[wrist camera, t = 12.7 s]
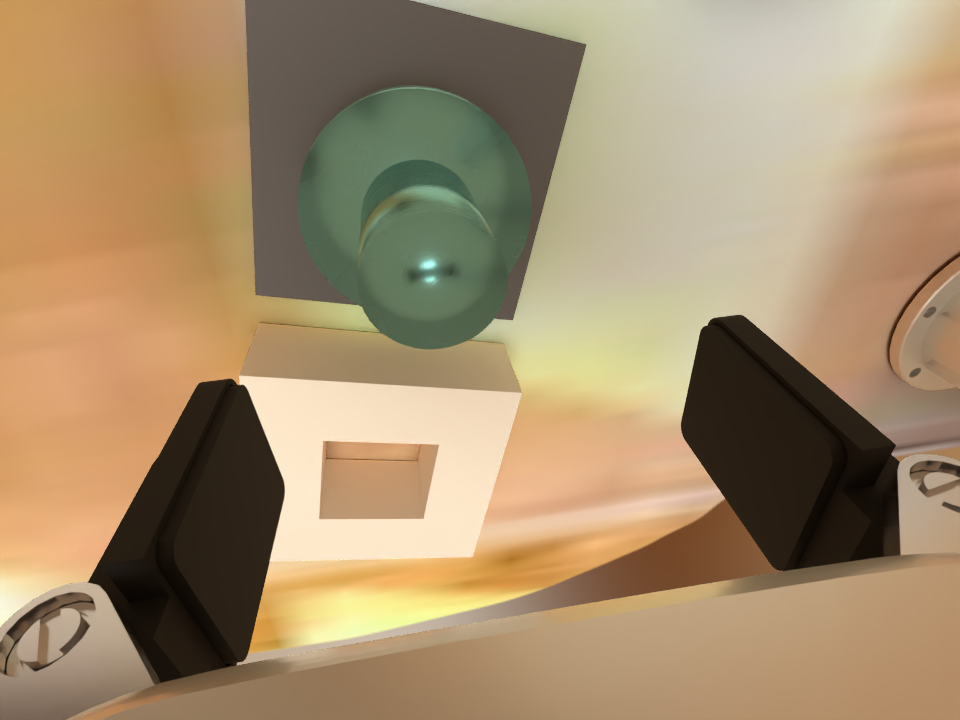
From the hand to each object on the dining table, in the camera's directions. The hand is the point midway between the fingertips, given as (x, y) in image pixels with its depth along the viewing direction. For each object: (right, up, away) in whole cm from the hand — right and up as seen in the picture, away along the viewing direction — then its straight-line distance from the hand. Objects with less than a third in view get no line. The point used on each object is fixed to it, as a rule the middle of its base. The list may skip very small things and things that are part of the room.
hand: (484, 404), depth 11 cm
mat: (-4, +10, +14) cm, 18 cm away
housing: (-7, -3, +23) cm, 24 cm away
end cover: (-3, +10, +14) cm, 17 cm away
